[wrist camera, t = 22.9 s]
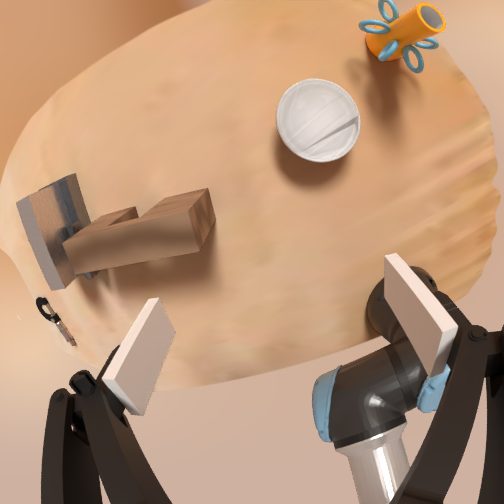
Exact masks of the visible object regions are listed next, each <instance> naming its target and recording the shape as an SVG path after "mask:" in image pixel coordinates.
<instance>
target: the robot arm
mask: <svg viewBox="0 0 504 504" xmlns="http://www.w3.org/2000/svg"><path fill="white" fill-rule="evenodd" d="M367 315H368V318H369V320H370V323H371V325H372V327H373V328H374V329H375V331H377V332H378V333H379V334H380V335H382V336H383V337H384V338H385V339H386V340H387V341H389V342H390V343H391V344H389V345H388V346H385V347H383V348H381V349H379V350H377V351H375V352H373V353H371V354H369V355H366V356H364V357H362V358H360V359H357V360H355V361H353V362H350V363H348V364H346V365H343V366H342V365H340V366H338V367H337V368H336V369H334V370H332V371H330V372H327V373H325V374H323V375H321V376H320V377H319V378H318V379H317V380H316V382H315V384H314V388H313V393H312V407H313V415H314V421H315V425H316V428H317V430H318V432H319V436H320V438H321V439H322V440H323V441H324V442H333V443H334V447H335V450H336V451H337V452H339V453H341V454H344V455H346V456H347V457H348V460H349V464H350V467H351V471H352V475H353V479H354V483H355V487H356V491H357V495H358V499H359V503H360V504H443V500H444V498H445V496H446V494H447V492H448V489H449V487H450V485H451V483H452V481H453V479H454V476H455V474H456V472H457V469H458V467H459V464H460V462H461V459H462V456H463V454H464V451H465V448H466V445H467V442H468V439H469V436H470V433H471V430H472V427H473V423H474V420H475V416H476V413H477V409H478V405H479V400H480V396H481V391H482V386H483V381H484V378H485V377H486V390H487V440H486V452H485V463H484V470H483V477H482V484H481V489H480V494H479V499H478V504H504V325H503V327H502V330H501V331H496V332H487V330H486V329H485V328H483V327H481V326H479V325H472V324H471V323H470V322H469V320H468V319H467V318H466V317H465V316H464V314H463V313H462V312H461V311H460V310H459V308H457V306H456V305H455V304H454V303H453V301H452V300H451V299H450V298H449V297H448V296H447V295H446V294H444V293H442V292H440V291H438V289H437V286H436V283H435V281H434V280H433V278H432V277H431V276H430V275H429V274H428V273H427V272H426V271H425V270H424V269H422V268H419V267H414V266H408V265H407V264H406V263H405V262H404V261H403V260H402V259H401V258H400V257H399V255H398V254H397V253H394V254H390V255H385V256H384V278H383V279H382V280H381V281H380V282H379V283H378V284H377V286H376V287H375V288H374V290H373V291H372V293H371V295H370V297H369V300H368V304H367ZM175 333H176V332H175V330H174V328H173V326H172V324H171V322H170V319H169V317H168V315H167V313H166V311H165V309H164V307H163V304H162V302H161V300H160V298H159V297H158V298H151V299H148V301H147V302H146V304H145V306H144V307H143V309H142V310H141V312H140V314H139V315H138V317H137V319H136V320H135V322H134V323H133V325H132V327H131V328H130V330H129V332H128V333H127V335H126V337H125V339H124V340H123V342H122V344H121V345H118V346H117V347H116V348H115V349H114V350H113V351H112V353H111V354H110V356H109V358H108V359H107V361H106V363H105V365H104V366H103V368H102V370H101V372H100V373H99V375H98V377H97V379H96V380H95V379H94V378H93V376H92V375H91V374H90V372H89V371H87V370H81V371H79V372H77V373H76V374H74V375H73V376H72V377H71V379H70V381H69V385H70V386H71V388H72V389H73V390H74V391H75V392H76V394H70V393H69V392H68V391H67V389H65V388H61V389H58V390H56V391H55V392H54V393H53V395H52V396H51V399H50V403H49V409H48V415H47V422H46V428H45V436H44V446H43V457H42V472H41V474H42V475H41V504H103V503H102V496H101V489H100V481H99V475H100V478H101V481H102V483H103V486H104V488H105V491H106V493H107V496H108V498H109V501H110V503H111V504H172V503H171V501H170V499H169V498H168V497H167V495H166V493H165V491H164V490H163V488H162V486H161V485H160V483H159V481H158V480H157V478H156V476H155V475H154V473H153V471H152V469H151V467H150V465H149V464H148V462H147V460H146V458H145V456H144V454H143V452H142V450H141V448H140V446H139V444H138V442H137V440H136V438H135V435H134V434H133V431H132V429H131V427H130V424H129V422H128V420H127V417H126V416H125V415H124V414H123V412H124V410H125V408H126V409H127V410H128V412H129V413H131V415H141V416H143V415H144V413H145V410H146V408H147V405H148V402H149V400H150V397H151V394H152V392H153V389H154V386H155V384H156V381H157V379H158V376H159V373H160V371H161V368H162V366H163V363H164V361H165V358H166V356H167V353H168V351H169V348H170V346H171V343H172V341H173V338H174V336H175ZM415 407H417V408H418V409H419V410H420V411H422V412H423V413H430V412H431V411H436V413H435V416H434V418H433V421H432V423H431V426H430V428H429V430H428V433H427V435H426V437H425V439H424V441H423V444H422V446H421V448H420V450H419V452H418V454H417V456H416V458H415V460H414V462H413V464H412V466H411V467H410V466H409V462H408V459H407V455H406V452H405V448H404V445H403V442H402V438H401V436H402V433H403V431H404V429H405V427H406V425H407V421H406V417H405V412H407V411H409V410H411V409H413V408H415ZM71 425H72V426H73V431H72V427H71Z"/></svg>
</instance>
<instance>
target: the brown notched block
mask: <svg viewBox="0 0 504 504" xmlns="http://www.w3.org/2000/svg"><path fill="white" fill-rule="evenodd" d="M215 220H216V218H215V214H214V210H213V206H212V202H211V198H210V194H209V190H208V188H206V189H201V190H197V191H193V192H189V193H184V194H180V195H176V196H172V197H168V198H164V199H163V200H162V201H160V202H159V203H158V204H157V205H155V206H154V207H153V208H152V209H150V210H149V211H148V212H147V213H145V214H144V215H143V216H142V217H140V218H139V217H138V214H137V210H136V207H135V206H134V207H131V208H127V209H124V210H120V211H117V212H114V213H110V214H107V215H104V216H101V217H100V218H98V219H97V220H95V221H94V222H92V223H91V224H89V225H88V226H86V227H85V228H83V229H82V230H80V231H79V232H78V233H76V234H75V235H73V236H72V237H71V238H69V239H68V240H66V241H65V242H64V243H62V244H63V246H64V249H65V251H66V254H67V256H68V259H69V261H70V263H71V266H72V268H73V270H74V272H75V274H80V273H86V272H91V271H96V270H102V269H107V268H112V267H118V266H123V265H129V264H134V263H139V262H145V261H150V260H156V259H161V258H167V257H172V256H178V255H184V254H189V253H195V252H200V250H201V248H202V246H203V244H204V242H205V240H206V238H207V235H208V233H209V231H210V229H211V227H212V225H213V223H214V221H215Z"/></svg>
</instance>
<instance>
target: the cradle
mask: <svg viewBox="0 0 504 504" xmlns="http://www.w3.org/2000/svg"><path fill="white" fill-rule="evenodd" d="M57 183H59V186H60V189H61V192H62V195H63V199H64V202H65V205H66V208H67V211H68V214H69V217H70V220H71V222H72V224H70V225H69V226H67V227H66V228H67V230H68V233H69V236H70V238H71V237H72V236H73V235H75V234H76V233H78V232H79V231H80V230H82V229H83V228H85V227H86V226H88V225H89V224H91V222H90V219H89V216H88V213H87V210H86V207H85V204H84V201H83V198H82V194H81V191H80V188H79V184H78V181H77V177H76V173H74V174H72V175H69V176H66V177H64V178H62V179H60V180H58V181H56V182H54V183H52V184H50V185H48V186H46V187H44V188H42V189H45V188H47V187H49V186H52V185H54V184H57ZM42 189H40V190H42ZM40 190H38V191H40ZM99 271H100V270H96V271H91V272H86V273H80V274H79V275H83V274H86V277H87V279H92V278H93V277H94V276H95V275H96V274H97V273H98V272H99Z"/></svg>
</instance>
